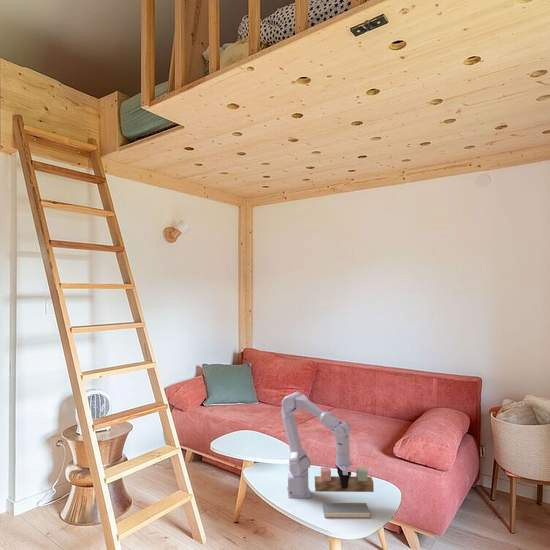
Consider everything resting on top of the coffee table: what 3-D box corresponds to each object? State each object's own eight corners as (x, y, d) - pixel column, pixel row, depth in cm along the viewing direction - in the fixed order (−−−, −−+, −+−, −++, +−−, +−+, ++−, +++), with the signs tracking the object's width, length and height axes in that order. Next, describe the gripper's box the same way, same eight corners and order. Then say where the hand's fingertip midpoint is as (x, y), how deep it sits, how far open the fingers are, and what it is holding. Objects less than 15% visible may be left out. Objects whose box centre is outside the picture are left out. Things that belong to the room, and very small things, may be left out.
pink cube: (321, 481, 167) (321, 471, 168) (320, 476, 171) (320, 467, 172) (331, 481, 167) (330, 471, 168) (330, 476, 171) (329, 467, 172)
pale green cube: (357, 481, 167) (357, 471, 167) (356, 477, 171) (356, 467, 171) (367, 481, 166) (367, 471, 167) (365, 476, 170) (365, 467, 171)
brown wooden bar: (315, 491, 167) (315, 481, 167) (314, 485, 172) (314, 476, 172) (373, 491, 166) (373, 482, 166) (371, 486, 171) (371, 476, 171)
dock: (324, 517, 160) (324, 512, 160) (322, 507, 167) (322, 502, 167) (369, 517, 159) (369, 512, 159) (366, 507, 166) (366, 503, 166)
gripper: (355, 459, 162) (355, 493, 161) (349, 445, 177) (350, 477, 176) (337, 459, 162) (338, 493, 162) (333, 445, 177) (334, 477, 176)
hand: (343, 485), depth 169 cm, fingers closed on brown wooden bar, 5 cm apart
